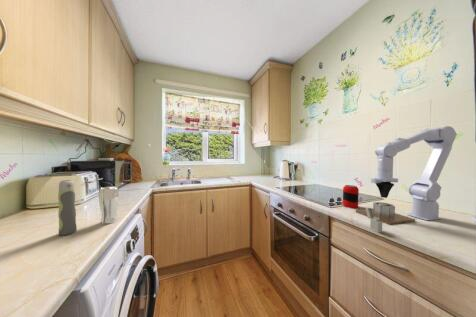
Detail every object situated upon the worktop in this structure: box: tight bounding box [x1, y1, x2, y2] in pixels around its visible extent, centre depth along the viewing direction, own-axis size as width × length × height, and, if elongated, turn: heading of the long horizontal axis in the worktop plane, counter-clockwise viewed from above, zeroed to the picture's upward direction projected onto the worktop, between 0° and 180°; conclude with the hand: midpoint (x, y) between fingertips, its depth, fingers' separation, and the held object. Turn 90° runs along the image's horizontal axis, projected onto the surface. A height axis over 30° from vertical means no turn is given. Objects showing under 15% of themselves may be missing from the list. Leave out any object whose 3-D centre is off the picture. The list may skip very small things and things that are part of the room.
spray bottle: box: [57, 179, 78, 236], centre depth 65 cm, size 5×5×20 cm
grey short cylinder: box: [378, 202, 390, 206], centre depth 85 cm, size 4×4×5 cm
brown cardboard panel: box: [355, 201, 416, 225], centre depth 85 cm, size 16×16×6 cm
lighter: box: [365, 207, 383, 234], centre depth 71 cm, size 7×2×8 cm, turn 179°
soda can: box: [342, 184, 360, 209], centre depth 101 cm, size 8×8×12 cm
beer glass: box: [98, 186, 120, 225], centre depth 77 cm, size 7×7×15 cm
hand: (384, 197), depth 85 cm, fingers closed
